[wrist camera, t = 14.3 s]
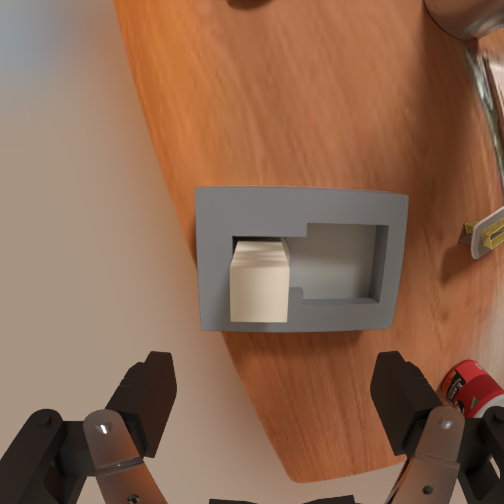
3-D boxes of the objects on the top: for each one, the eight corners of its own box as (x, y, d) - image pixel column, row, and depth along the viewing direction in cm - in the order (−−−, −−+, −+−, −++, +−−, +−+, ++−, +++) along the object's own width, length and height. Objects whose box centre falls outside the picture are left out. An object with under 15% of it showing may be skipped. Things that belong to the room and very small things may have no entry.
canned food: (444, 366, 38) (478, 409, 27) (481, 352, 37) (517, 388, 26) (436, 401, 40) (463, 444, 29) (472, 387, 39) (501, 424, 28)
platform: (412, 206, 32) (441, 214, 26) (503, 157, 30) (534, 158, 24) (436, 290, 35) (462, 310, 29) (519, 233, 32) (547, 243, 26)
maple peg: (288, 224, 32) (305, 254, 20) (286, 279, 33) (299, 334, 22) (230, 223, 32) (214, 253, 20) (231, 278, 34) (217, 333, 22)
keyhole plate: (387, 191, 32) (408, 195, 26) (374, 307, 35) (391, 328, 30) (205, 185, 32) (195, 188, 27) (209, 307, 36) (201, 330, 30)
